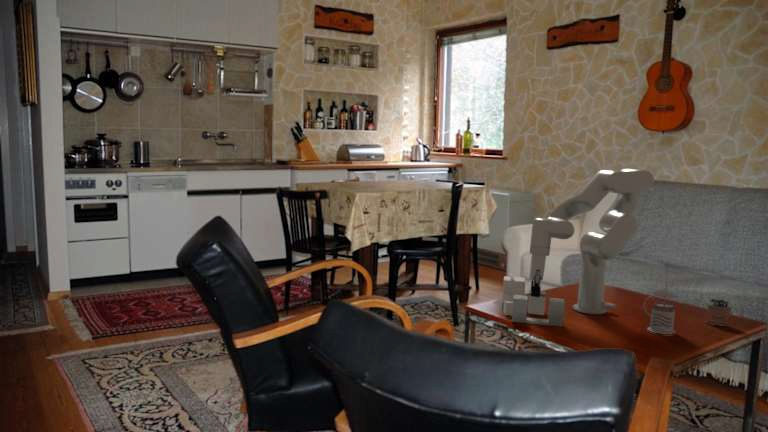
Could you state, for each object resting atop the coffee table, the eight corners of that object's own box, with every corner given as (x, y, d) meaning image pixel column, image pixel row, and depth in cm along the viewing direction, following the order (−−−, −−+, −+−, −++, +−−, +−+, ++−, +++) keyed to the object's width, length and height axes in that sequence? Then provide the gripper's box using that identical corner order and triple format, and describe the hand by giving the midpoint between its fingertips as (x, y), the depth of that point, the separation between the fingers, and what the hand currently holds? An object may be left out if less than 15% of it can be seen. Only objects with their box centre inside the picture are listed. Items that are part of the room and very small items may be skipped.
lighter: (728, 325, 243) (731, 299, 242) (730, 327, 240) (733, 301, 239) (704, 322, 246) (707, 296, 245) (706, 324, 243) (709, 298, 241)
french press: (674, 337, 225) (681, 267, 222) (639, 330, 231) (645, 262, 228) (678, 330, 233) (685, 262, 230) (644, 324, 239) (650, 258, 236)
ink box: (523, 311, 251) (525, 277, 250) (501, 309, 253) (503, 275, 251) (523, 305, 260) (525, 273, 258) (502, 303, 261) (504, 271, 260)
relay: (513, 313, 248) (514, 300, 247) (516, 316, 244) (516, 303, 243) (503, 312, 248) (504, 300, 247) (505, 315, 244) (506, 302, 243)
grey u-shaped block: (561, 322, 237) (563, 298, 236) (562, 327, 231) (564, 303, 230) (512, 317, 241) (513, 294, 240) (511, 322, 235) (513, 298, 234)
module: (543, 311, 252) (545, 291, 251) (544, 315, 247) (545, 294, 246) (528, 309, 253) (529, 290, 252) (528, 313, 248) (529, 293, 247)
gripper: (529, 246, 256) (524, 288, 258) (530, 252, 239) (525, 297, 241) (548, 248, 255) (544, 290, 257) (550, 255, 238) (545, 300, 240)
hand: (534, 293), depth 249 cm, fingers open, 9 cm apart
